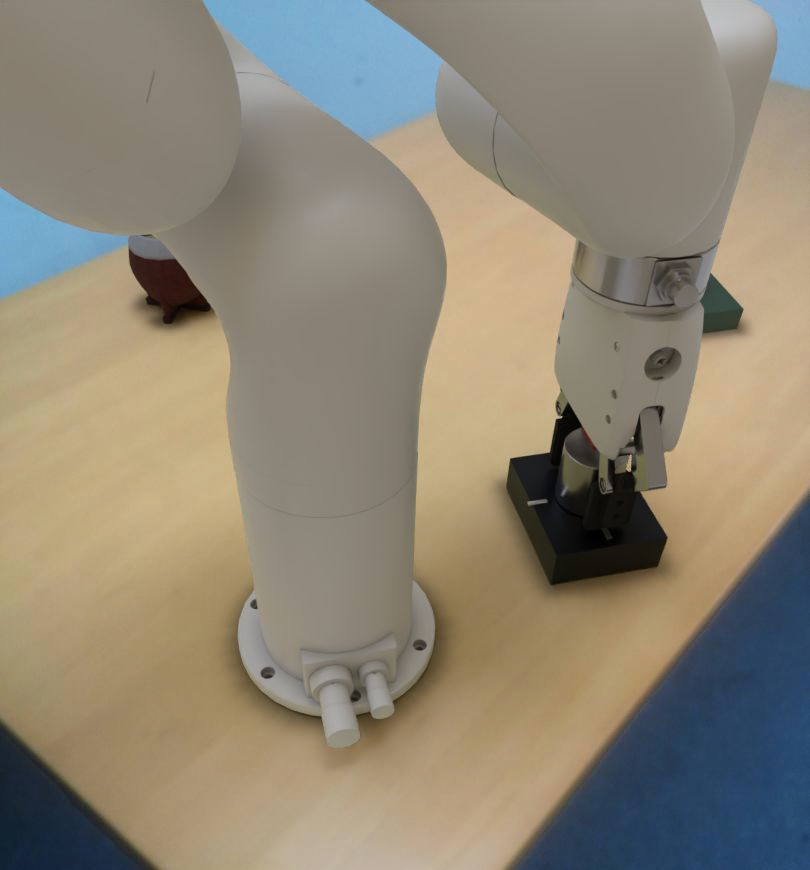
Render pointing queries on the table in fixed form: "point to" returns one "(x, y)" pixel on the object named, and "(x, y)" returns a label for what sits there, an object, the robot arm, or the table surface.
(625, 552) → the panel
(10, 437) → the table surface
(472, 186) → the table surface
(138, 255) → the mate gourd
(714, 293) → the housing
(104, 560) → the table surface
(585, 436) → the knob
